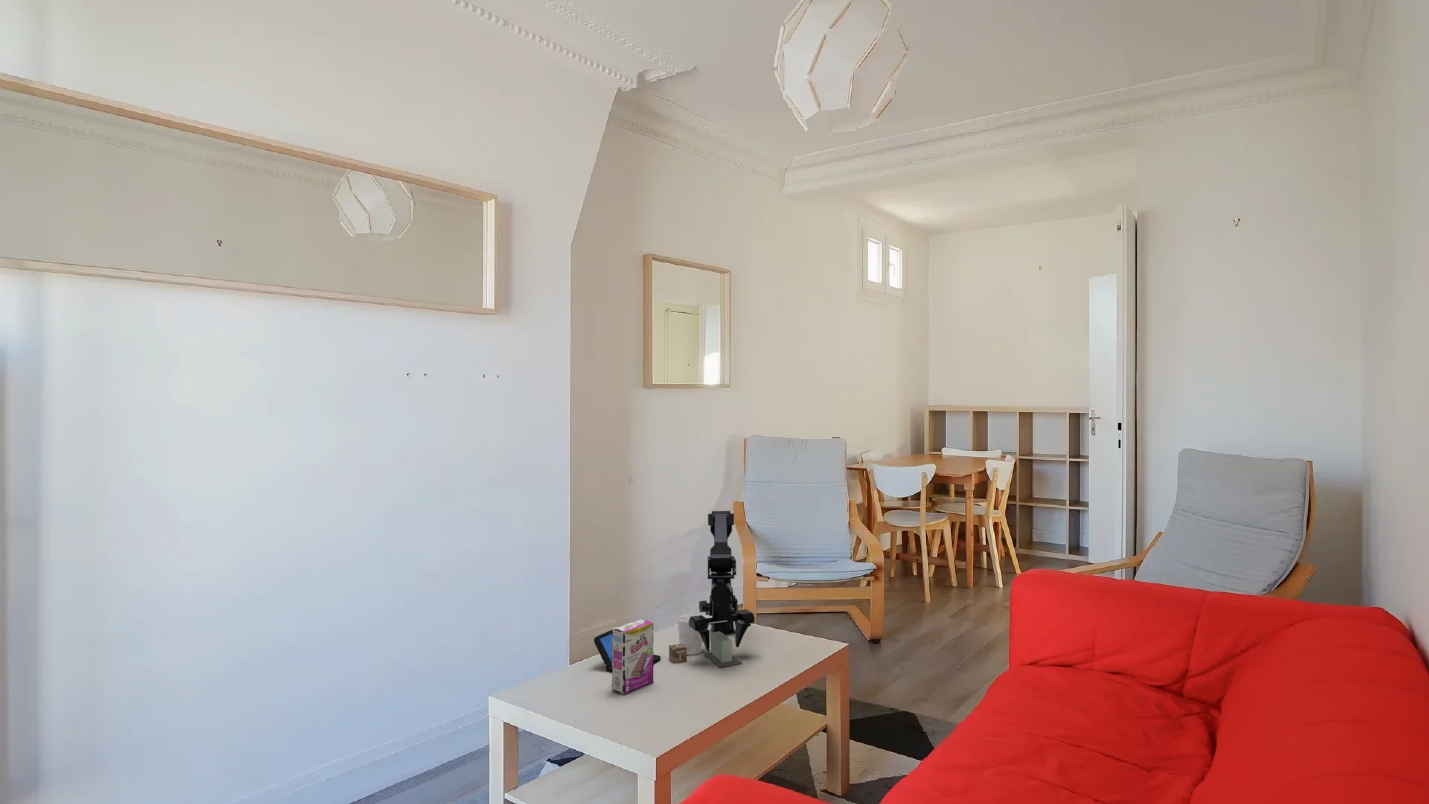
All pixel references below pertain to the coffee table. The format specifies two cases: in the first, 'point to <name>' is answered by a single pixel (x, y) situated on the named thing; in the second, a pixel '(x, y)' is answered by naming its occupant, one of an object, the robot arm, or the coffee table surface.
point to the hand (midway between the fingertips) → (722, 649)
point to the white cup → (689, 636)
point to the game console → (610, 649)
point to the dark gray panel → (722, 664)
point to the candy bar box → (632, 656)
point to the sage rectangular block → (721, 646)
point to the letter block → (677, 653)
